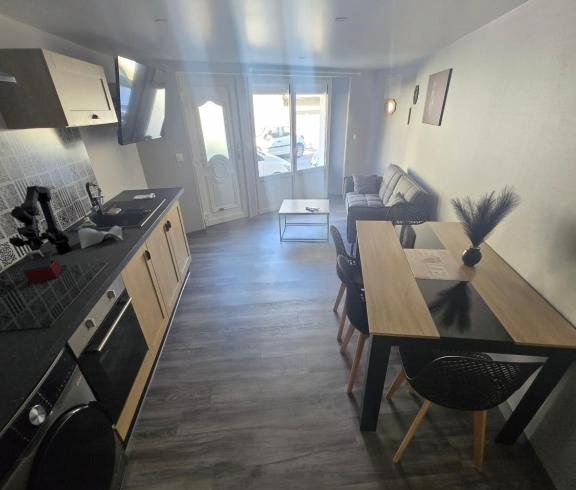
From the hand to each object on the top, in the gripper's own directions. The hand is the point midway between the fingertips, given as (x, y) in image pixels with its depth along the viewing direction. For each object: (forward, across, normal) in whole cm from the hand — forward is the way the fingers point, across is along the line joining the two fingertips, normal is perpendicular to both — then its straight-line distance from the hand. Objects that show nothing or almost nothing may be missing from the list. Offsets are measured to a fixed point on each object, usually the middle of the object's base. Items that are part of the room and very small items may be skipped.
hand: (35, 254), depth 155 cm
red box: (+10, 0, +8) cm, 12 cm away
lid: (+4, 0, +2) cm, 4 cm away
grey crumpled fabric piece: (-21, +22, +38) cm, 49 cm away
